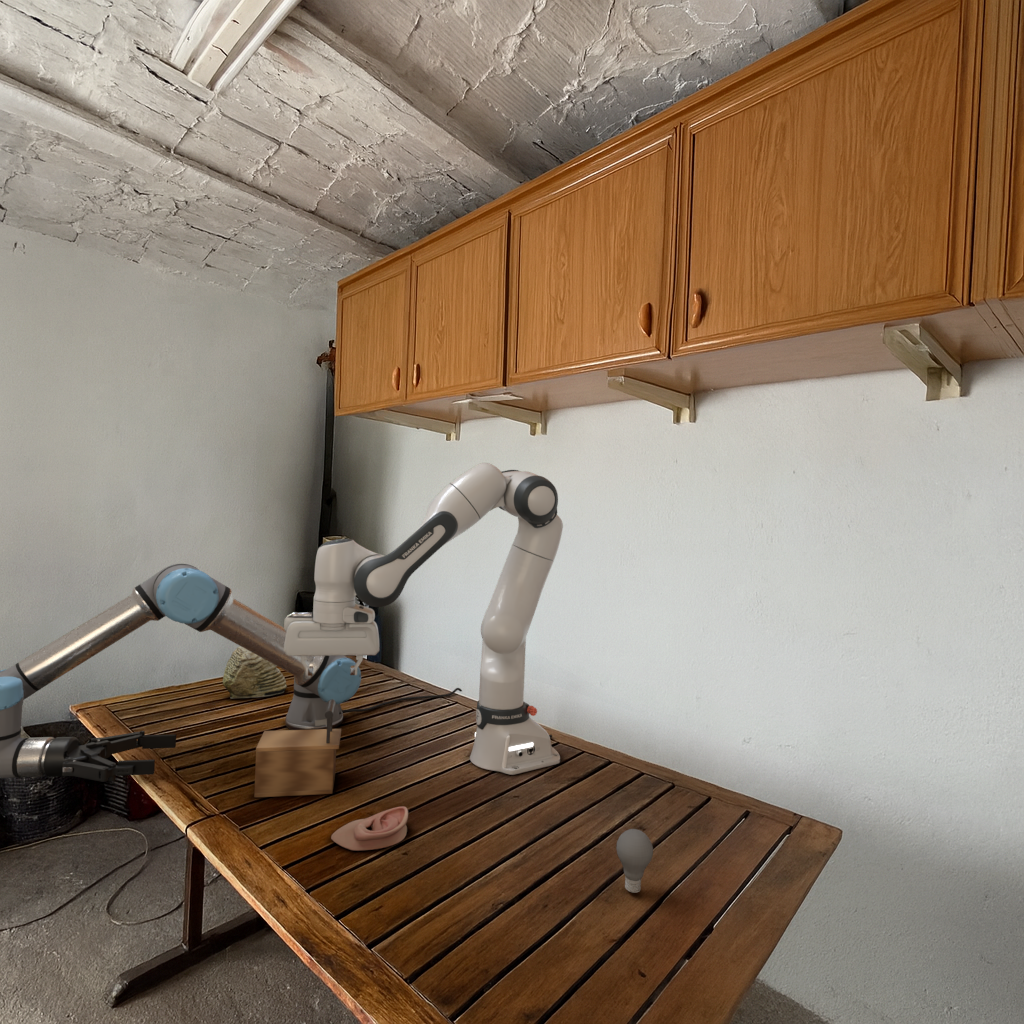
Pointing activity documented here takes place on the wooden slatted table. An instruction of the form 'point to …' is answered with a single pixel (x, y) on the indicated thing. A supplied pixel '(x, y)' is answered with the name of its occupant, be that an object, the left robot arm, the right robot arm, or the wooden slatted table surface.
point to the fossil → (252, 676)
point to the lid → (302, 737)
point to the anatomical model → (374, 830)
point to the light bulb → (634, 857)
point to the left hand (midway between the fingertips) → (165, 753)
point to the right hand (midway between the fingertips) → (331, 675)
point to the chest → (294, 772)
